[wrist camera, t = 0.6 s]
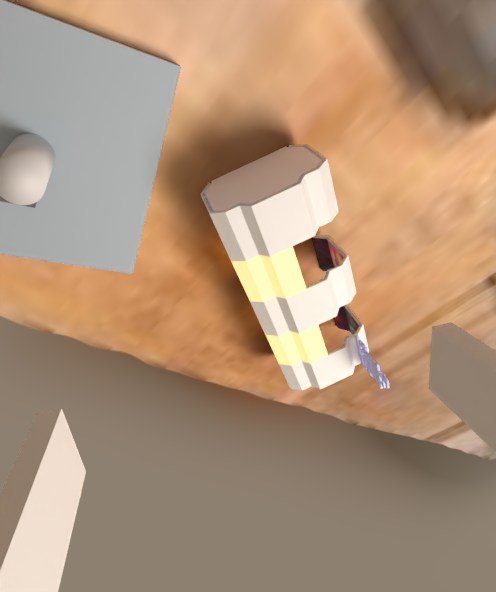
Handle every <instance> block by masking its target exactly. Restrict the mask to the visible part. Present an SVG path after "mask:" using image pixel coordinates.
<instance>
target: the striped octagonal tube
mask: <svg viewBox="0 0 496 592" xmlns="http://www.w3.org/2000/svg"><path fill="white" fill-rule="evenodd" d="M211 182H212V183H209V182H208V183H207V184H208V185H207V186H206V187H205V189H204V190H203V191H202V192H201V194H200V195H201V197H202V200H203V202H204V204H205V206H206V208H207V210H208V213H209V215H210V217H211V219H212V221H213V223H214V225H215V228H216V230H217V232H218V234H219V236H220V238H221V241H222V243H223V245H224V247H225V249H226V251H227V253H228V256H229V258H230V260H231V262H232V264H233V266H234V269H235V271H236V273H237V275H238V277H239V279H240V281H241V284H242V286H243V288H244V290H245V292H246V294H247V297H248V299H249V301H250V303H251V305H252V307H253V309H254V312H255V314H256V316H257V318H258V320H259V322H260V325H261V327H262V329H263V331H264V333H265V335H266V337H267V340H268V342H269V344H270V346H271V348H272V350H273V353H274V355H275V357H276V359H277V361H278V363H279V365H280V368H281V370H282V372H283V374H284V376H285V378H286V380H287V382H288V384H289V387H290V389H295V390H301V391H303V390H305V389H307V388H309V387H311V386H312V387H315V388H318V389H322V388H325V387H327V386H329V385H331V384H333V383H335V382H337V381H339V380H342V379H344V378H346V377H348V376H350V375H352V374H353V372H354V367H355V366H356V365H358V364H360V363H362V364H364V367H365V368H367V371H368V372H369V374H371V377H372V376H373V377H374V379H375V380H376V382H377V384H378V385H379V387H380V388H381V389H382V388H387V389H388V388H390V387H389V381H388V379H387V377H386V376H385V374H384V373H383V372H381V371H380V367H379V364H378V363H377V361H376V360H375V359H373V357H372V356H371V355H370V354H369V349H368V345H367V340H366V335H365V331H364V326H363V324H362V322H361V321H360V320H359V318H358V317H357V316H356V315H355V313H354V312H353V311H352V310H351V308H350V307H349V306H348V305H347V304H348V303H350V302H351V301H352V299H353V297H354V295H355V294H356V289H355V285H354V280H353V275H352V271H351V266H350V262H349V257H348V255H347V254H346V252H345V251H344V250H343V249H342V248H341V247H340V246H339V245H338V244H337V243H336V242H335V241H334V240H333V239H332V238H331V237H330V236H327V235H317V234H316V232H317V230H318V228H319V227H321V226H323V225H325V224H327V223H329V222H331V221H332V220H333V219H334V217H335V216H336V214H337V213H338V212H339V211H338V206H337V201H336V197H335V192H334V188H333V183H332V178H331V174H330V169H329V165H328V160H327V158H326V157H324V156H323V155H321V154H320V153H319V152H317V151H316V150H314V149H313V148H312V147H310V146H309V145H307V144H305V145H291V144H290V145H289V146H288V147H287V146H285V147H283V148H281V149H279V150H277V151H275V152H272V153H270V154H268V155H266V156H264V157H262V158H260V159H257V160H255V161H253V162H251V163H249V164H247V165H245V166H242V167H240V168H238V169H236V170H234V171H232V172H230V173H227V174H225V175H223V176H221V177H219V178H217V179H215V180H212V181H211ZM310 238H312V239H313V243H314V246H315V250H316V254H317V257H318V261H319V264H320V268H321V269H322V271H327V272H326V276H325V278H323V279H321V280H320V281H319V282H317V283H315V284H312V285H310V286H308V287H306V286H305V283H304V280H303V277H302V273H301V270H300V267H299V264H298V261H297V258H296V255H295V252H294V249H293V246H295V245H297V244H299V243H301V242H303V241H305V240H307V239H310ZM332 318H335V321H336V325H337V327H338V328H340V329H344V330H347V331H350V332H351V333H352V334H353V335H351V336H347V337H345V340H344V344H343V346H341V347H340V348H338V349H336V350H334V351H332V352H330V353H327V350H326V347H325V344H324V341H323V338H322V335H321V332H320V329H319V326H318V325H319V324H321V323H323V322H325V321H328V320H330V319H332Z"/></svg>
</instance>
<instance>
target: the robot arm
mask: <svg viewBox="0 0 496 592" xmlns="http://www.w3.org/2000/svg"><path fill="white" fill-rule="evenodd" d="M429 389H430V390H431V391H432V392H433V393H434V394H435V395H436V396H437V397H438V398H439V399H440V400H441V401H442V402H443V403H444V404H445V405H446V406H448V407H449V408H450V409H451V410H452V411H453V412H454V413H455V414H456V415H457V416H458V417H459V418H460V419H461V420H462V421H463V422H465V423H466V424H467V425H468V426H469V427H470V428H471V429H472V430H473V431H474V432H475V433H476V434H477V435H478V436H479V437H480V438H482V439H483V440H484V441H485V442H486V443H487V444H488V445H489V446H490V447H491V448H492V449H493V450H494V451H495V452H496V351H495V350H493V349H492V348H490V347H489V346H487V345H486V344H484V343H483V342H481V341H479V340H478V339H476V338H475V337H473V336H472V335H470V334H468V333H467V332H465V331H464V330H462V329H461V328H459V327H457V326H456V325H454V324H453V323H447V324H442V325H438V326H433V327H432V340H431V358H430V375H429ZM85 473H86V471H85V468H84V466H83V463H82V461H81V458H80V455H79V453H78V450H77V447H76V445H75V442H74V440H73V437H72V434H71V432H70V429H69V426H68V424H67V421H66V419H65V416H64V414H63V411H62V409H57V410H52V411H48V412H44V413H39V414H37V415H36V417H35V419H34V421H33V423H32V426H31V428H30V430H29V432H28V434H27V437H26V439H25V441H24V443H23V445H22V447H21V450H20V452H19V454H18V456H17V458H16V460H15V463H14V465H13V467H12V469H11V471H10V474H9V476H8V478H7V480H6V482H5V484H4V486H3V489H2V491H1V493H0V592H58V589H59V585H60V581H61V576H62V572H63V567H64V564H65V559H66V555H67V550H68V546H69V541H70V538H71V534H72V529H73V524H74V520H75V516H76V512H77V508H78V504H79V499H80V495H81V490H82V486H83V482H84V478H85Z"/></svg>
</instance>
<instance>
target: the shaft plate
mask: <svg viewBox="0 0 496 592" xmlns="http://www.w3.org/2000/svg"><path fill="white" fill-rule="evenodd" d="M180 69H181V67H180V66H179V65H177V64H175V63H172V62H170V61H167V60H164V59H162V58H159V57H156V56H154V55H151V54H148V53H146V52H143V51H140V50H138V49H135V48H132V47H130V46H127V45H124V44H122V43H119V42H116V41H114V40H111V39H109V38H106V37H103V36H101V35H98V34H95V33H93V32H90V31H87V30H85V29H82V28H79V27H77V26H74V25H71V24H69V23H66V22H63V21H61V20H58V19H55V18H53V17H50V16H47V15H45V14H42V13H40V12H37V11H34V10H32V9H29V8H26V7H24V6H21V5H18V4H16V3H13V2H10V1H8V0H0V254H2V255H9V256H16V257H23V258H29V259H36V260H43V261H50V262H56V263H63V264H70V265H77V266H83V267H90V268H97V269H104V270H110V271H117V272H124V273H131V274H133V270H134V266H135V261H136V257H137V253H138V249H139V244H140V240H141V236H142V232H143V227H144V223H145V219H146V214H147V210H148V206H149V202H150V197H151V193H152V189H153V184H154V180H155V176H156V172H157V167H158V163H159V159H160V155H161V150H162V146H163V142H164V137H165V133H166V129H167V125H168V120H169V116H170V112H171V108H172V103H173V99H174V95H175V90H176V86H177V82H178V78H179V73H180Z"/></svg>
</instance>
